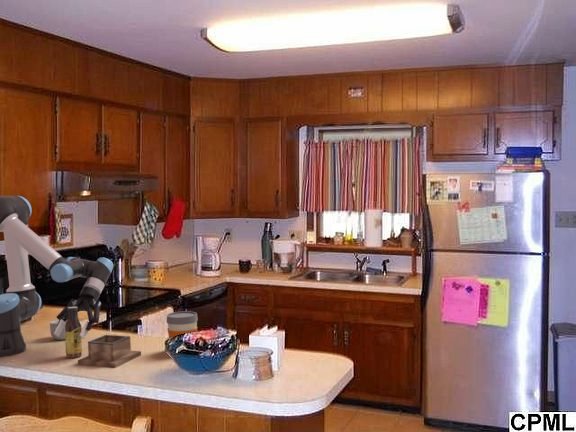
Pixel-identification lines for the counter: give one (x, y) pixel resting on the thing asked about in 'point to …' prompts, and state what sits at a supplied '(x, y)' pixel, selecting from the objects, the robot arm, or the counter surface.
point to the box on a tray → (109, 351)
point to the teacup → (53, 328)
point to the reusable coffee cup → (181, 322)
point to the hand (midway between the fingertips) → (68, 336)
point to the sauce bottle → (73, 334)
